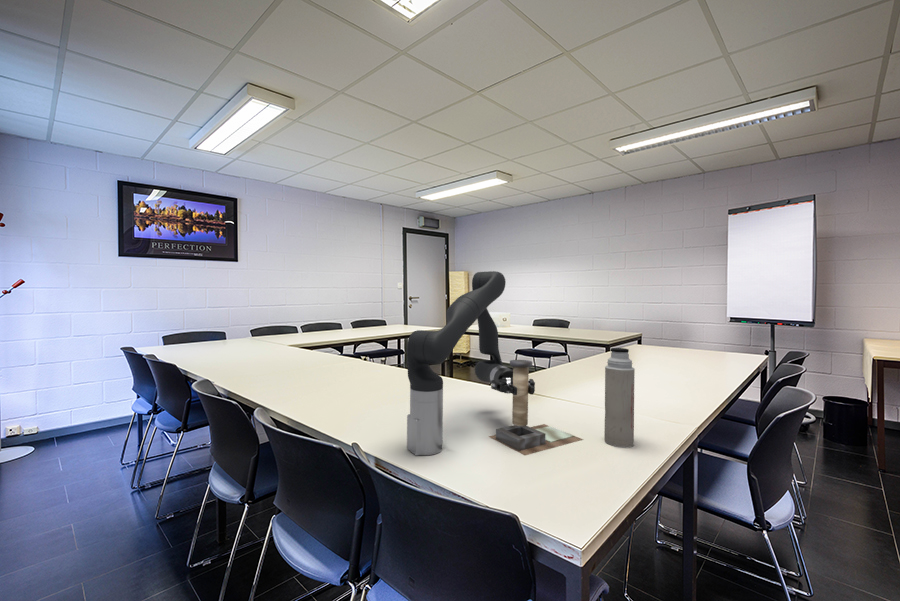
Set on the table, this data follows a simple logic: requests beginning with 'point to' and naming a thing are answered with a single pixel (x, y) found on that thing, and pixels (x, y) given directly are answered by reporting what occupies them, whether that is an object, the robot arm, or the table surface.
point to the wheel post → (520, 391)
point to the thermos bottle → (619, 399)
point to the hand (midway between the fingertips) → (524, 391)
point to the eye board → (533, 438)
